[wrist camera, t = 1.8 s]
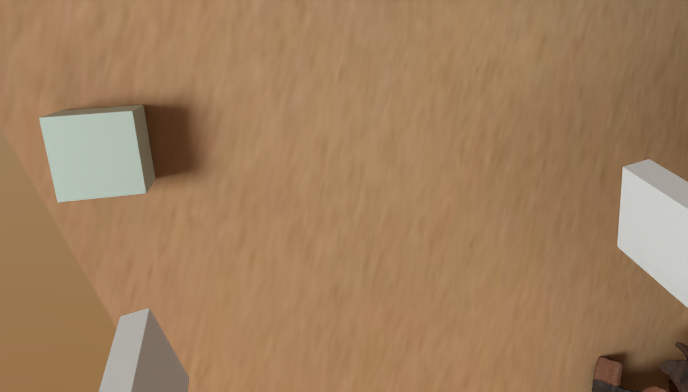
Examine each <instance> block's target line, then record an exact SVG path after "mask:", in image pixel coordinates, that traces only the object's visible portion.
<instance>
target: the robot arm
mask: <svg viewBox="0 0 688 392" xmlns="http://www.w3.org/2000/svg"><path fill="white" fill-rule="evenodd" d="M617 247H618V248H620V249H621V250H622V251H623V252H624V253H625V254H626V255H628V256H629V257H630V258H631V259H632V260H633V261H634V262H636V263H637V264H638V265H639V266H640V267H641V268H643V269H644V270H645V271H646V272H647V273H648V274H649V275H651V276H652V277H653V278H654V279H655V280H656V281H657V282H659V283H660V284H661V285H662V286H663V287H664V288H665V289H667V290H668V291H669V292H670V293H671V294H672V295H674V296H675V297H676V298H677V299H678V300H679V301H680V302H682V303H683V304H684V305H685V306H686V307H687V308H688V182H687V181H685V180H684V179H682V178H680V177H679V176H677V175H675V174H674V173H672V172H670V171H669V170H667V169H665V168H663V167H662V166H660V165H658V164H657V163H655V162H653V161H652V160H650V159H648V160H644V161H641V162H638V163H634V164H631V165H627V166H624V167H623V173H622V187H621V201H620V215H619V229H618V243H617ZM188 384H189V376H188V375H187V373H186V371H185V369H184V368H183V366H182V364H181V362H180V361H179V359H178V357H177V355H176V354H175V352H174V350H173V348H172V347H171V345H170V343H169V341H168V340H167V338H166V336H165V334H164V333H163V331H162V329H161V327H160V326H159V324H158V322H157V320H156V319H155V317H154V315H153V313H152V312H151V310H150V308H147V309H144V310H141V311H137V312H134V313H131V314H127V315H124V316H121V317H120V319H119V323H118V326H117V330H116V333H115V337H114V340H113V344H112V347H111V351H110V354H109V358H108V362H107V365H106V369H105V372H104V375H103V379H102V383H101V386H100V389H99V392H188Z"/></svg>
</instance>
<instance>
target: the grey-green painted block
mask: <svg viewBox="0 0 688 392" xmlns="http://www.w3.org/2000/svg"><path fill="white" fill-rule="evenodd" d="M39 120H40V124H41V129H42V133H43V138H44V142H45V147H46V151H47V156H48V160H49V165H50V169H51V174H52V179H53V183H54V188H55V192H56V197H57V201H58V202H65V201H75V200H84V199H94V198H104V197H114V196H124V195H134V194H144V193H147V191H148V190H149V188H150V186H151V185H152V183H153V182H154V180H155V173H154V167H153V161H152V154H151V148H150V142H149V136H148V130H147V124H146V117H145V111H144V105H132V106H118V107H104V108H89V109H75V110H61V111H58V112H55V113H52V114H49V115H46V116H43V117H40V118H39Z"/></svg>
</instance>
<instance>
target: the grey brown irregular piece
mask: <svg viewBox="0 0 688 392" xmlns="http://www.w3.org/2000/svg"><path fill="white" fill-rule="evenodd" d="M675 345H676V346H677V347H678V348H679V349H680V350H681V351H682V352H683V354H684V355H685V357H686V358H687V360H688V346H687V345H685V344H682V343H678V342H676V343H675ZM687 360H676V361H673V360H668V361H666V362H664V364H662V365H661V367H660V370H661V371H663V372H664V373H666V374H668V375H669V376H670V378H671V380H669V384H670V386H669V390H670V392H688V361H687ZM622 370H623V364H622V363H620V362H617V361H612V360H610V359H607V358H604V357H601V356H600V357H599V358H598V362H597V363H596V368H595V371H594V380H593V388H592V392H638V391H633V390H628V389H625V388H623V387H622V386H621V375H622ZM643 392H668V391H666V390H664V389H662V388H660V387H657V386H656V387H647V388H646V389H644V390H643Z"/></svg>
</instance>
